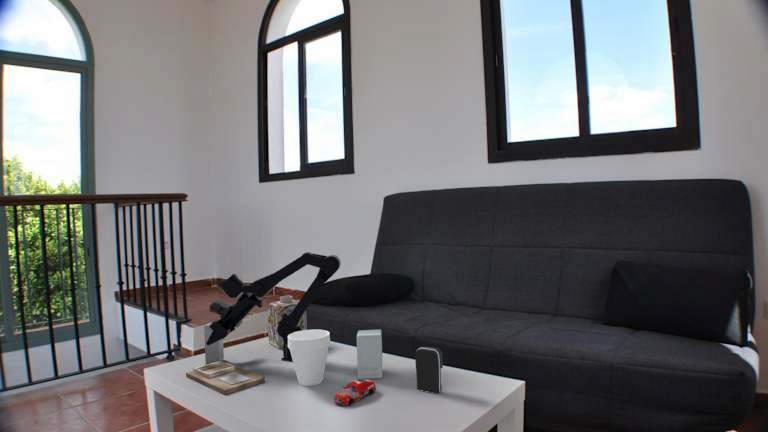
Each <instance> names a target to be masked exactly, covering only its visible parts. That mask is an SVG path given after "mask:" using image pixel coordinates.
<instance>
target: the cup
mask: <svg viewBox="0 0 768 432" xmlns="http://www.w3.org/2000/svg"><path fill="white" fill-rule="evenodd" d="M330 346H331V335H330V331H328V330H324V329H307V330H302V331H297V332H294V333H291V334H289V335H288V348H289V349H290V353H291V356H292V360H293V361H292V364H293V367H294V370H295V374H296V378H297V381H298V384H299V385H301V386H305V387H309V386H311V387H312V386H316V385H319V384H321V383H323V380H324V379H323V378H324V373H325V368H326V363H327V359H328V353H329V348H330Z"/></svg>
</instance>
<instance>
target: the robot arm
mask: <svg viewBox="0 0 768 432" xmlns="http://www.w3.org/2000/svg"><path fill="white" fill-rule="evenodd" d="M341 264H342V262H341V259H340V257H339V256H338V255H335V254H330V255H328V256H327V255H324V254H316V253H312V252H310V251H307V252H304V253H303V254H302V255H300V256H299V257H298V258H296V259H294V260H292V261H291V262H289V263H287V264H286V265H285V266H283V267H282V268H280V269H279V270H277V271H274V272H272V273H270V274H268V275H265V276H263V277H260V278H258V279H256V280H254V281H253V282H247V283H245V282H244V281H243V280H241V278H239V275H237V274H236V273H233V274H231V276H229V277H228V278H227V279H225V280H224V281H223V282H222V283H221V284H220V285H219V287H218V289H220V290H221V291H222V292H223V293H224V294H225V295H226V296H227V297H228V298H229V299H231V300H232V299H234V298H235V300H236V301H235V303H233V304H232V305H230V304H228V303H225V302H224V301H222V300H218V299H215V300H213V301H212V302H211V304H210V305H209V309H208V311H209V312H210V313H214V314H216V315H219V318H220V319H215V320H214V321H211V322H212V324H211V325H210V326H209V327H210V328H211V329H212V330H213V332H212V333H211V335H210V337H209V339H208V341H207V342H206V344H207V345H210V344H213V343H215V342H217V341H219V340H221V339H223V340H225V339H226V337H227V336H228V335H229V334H231V333H232V332H235V330H236V329H237V328H239V327H240V326H241V325H242V324H243V320H244V319H245V318H246V317H247V316H248V315H249V313H250V312H251V311H252V310H253V309H254V308H255V307H258V308H259V309H261V308H262V307H263V306H264V298H261V297H264V296H265V295H267V294H268V293H270V292H271V291H272V290H273V289H274V288H275V287H276V286H277V285H278V284H280V282H282V281H283V280H285V279H287V278H288V277H289V276H291V275H293V274H294V273H296V272H297V271H299V270H301V269H303V268H305V267H306V266H307V265H309V266H311V267H315V268H319V270H318V272H317V275H316V277H315V279H314V280H313V281H312V282H311V284H310V285H309V287H308V288H307V290H306V291H305V292H304V294H303V296H301V298H300V299H299V300H300V301H299V303H298V304H297V305H296V307H295V308H294V310H293V311H292V312H290V311H289V310H287V311H286V312H285V313H284V315H283V317H282V319H281V320H280V321H279V322H278V324H279V325H278V327H277V331H278V334H279V335H280V336H281V337H282V338H283V341H284V344H283V349H282V356H283V357H281V361H288V362H293V360H292V356H291V353H290V349H289V348H288V335H289V334H291V333H294V332H297V331H302V329H301V328H300V327H299V326H298V325H299V323H300V320H301V318H302V316H303V314H304V312H305V311H306V312H307V309H308V308H309V306H310V305H311V303H312V302H313V301H314V299H315V298H316V296H317V295H318V293H319V292H320V291H321V289H322V288H323V286H324V285H325V284H326V283H327V281H328V280H330V279H331V278H332V276H334V275H335V274H336V273H337V271H338V270H339V269H340V268H341ZM228 337H229V336H228Z"/></svg>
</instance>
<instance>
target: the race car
mask: <svg viewBox="0 0 768 432" xmlns="http://www.w3.org/2000/svg"><path fill="white" fill-rule="evenodd" d="M376 389H377V387H376V384H375V381H373V380H370V379H355V380H352V381H350V382H348V383H347V384H346V385H345V386H342V389H341V390H339V391H338V392H337V393H336V394H334V396H333V400H334V404H336V405H339V406H351V405H354V403H357V402H359V401H361V400H363V399H365V398H367V397H368V396H369V397H370V396H371V395H373V394H374V393H375V392H376Z"/></svg>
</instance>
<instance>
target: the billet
mask: <svg viewBox="0 0 768 432" xmlns="http://www.w3.org/2000/svg"><path fill="white" fill-rule="evenodd" d="M212 322H213V321H211V322H207V323H206V324H204V325H203V329H204V333H203V334H204V353H205V354H204V356H205V365H207V364H211V363H215V362H218V361H223V362H224V361H225V356H224V354H225V353H224V350H225V349H224V339H221V340H219V341H217V342H215V343H213V344H210V345H207V344H206V342H207V341H208V339H209V337H210V335H211V333H212V332H213V330H212V329H211V328H210V327H209V326H210V325H211V324H212Z"/></svg>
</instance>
